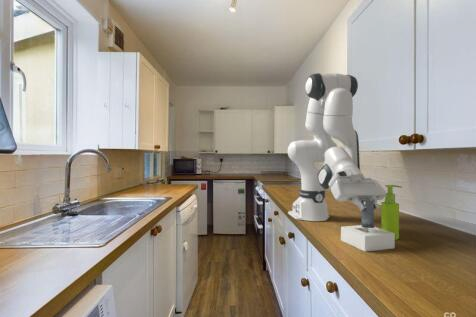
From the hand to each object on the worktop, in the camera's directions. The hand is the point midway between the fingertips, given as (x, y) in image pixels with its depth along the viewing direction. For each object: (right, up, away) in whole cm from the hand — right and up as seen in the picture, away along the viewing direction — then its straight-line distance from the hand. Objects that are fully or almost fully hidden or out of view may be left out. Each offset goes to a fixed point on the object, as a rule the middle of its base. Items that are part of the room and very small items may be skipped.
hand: (370, 208), depth 92 cm
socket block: (0, -13, +2) cm, 13 cm away
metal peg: (0, -6, +1) cm, 6 cm away
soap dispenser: (+13, -13, +10) cm, 21 cm away
